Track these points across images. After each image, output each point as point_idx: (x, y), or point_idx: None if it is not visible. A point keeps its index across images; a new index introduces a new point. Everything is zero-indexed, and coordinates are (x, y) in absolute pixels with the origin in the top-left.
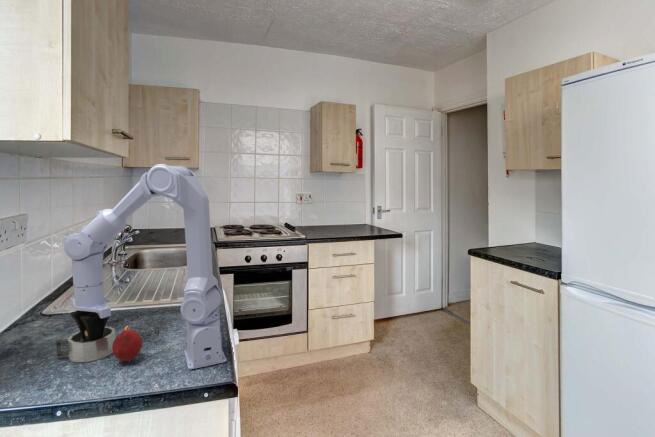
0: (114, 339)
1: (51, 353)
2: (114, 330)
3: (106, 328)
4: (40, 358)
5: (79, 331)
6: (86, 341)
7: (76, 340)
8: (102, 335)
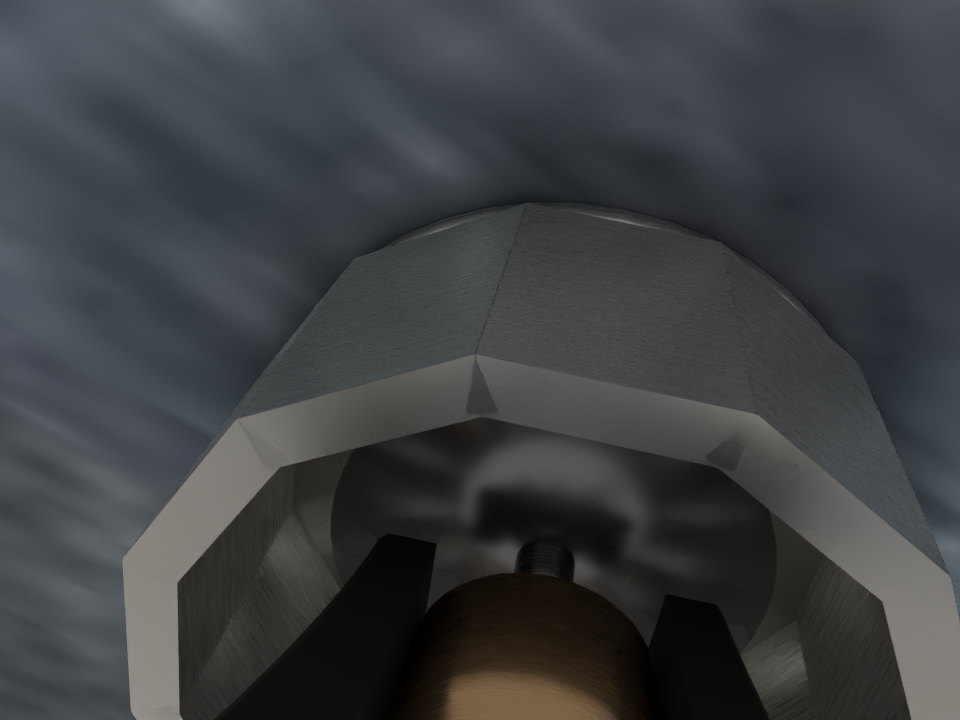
0: (906, 476)
1: (77, 621)
2: (828, 482)
3: (451, 414)
4: (121, 714)
5: (141, 694)
6: (266, 482)
7: None
8: (753, 692)
